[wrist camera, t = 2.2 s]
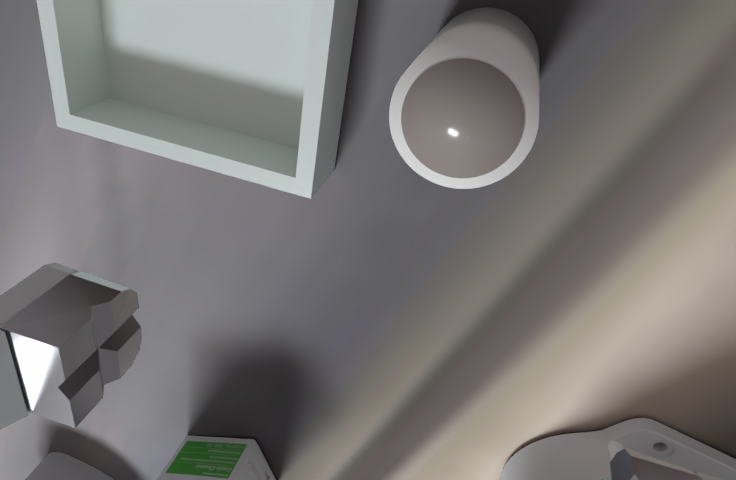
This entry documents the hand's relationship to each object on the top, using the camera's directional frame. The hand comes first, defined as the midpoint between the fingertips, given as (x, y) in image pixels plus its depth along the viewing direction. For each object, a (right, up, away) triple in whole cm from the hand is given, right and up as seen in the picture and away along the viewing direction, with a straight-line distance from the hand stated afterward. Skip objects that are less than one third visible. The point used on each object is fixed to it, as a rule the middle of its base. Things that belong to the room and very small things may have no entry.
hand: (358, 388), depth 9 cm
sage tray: (-8, +16, +21) cm, 27 cm away
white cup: (+6, +11, +19) cm, 23 cm away
